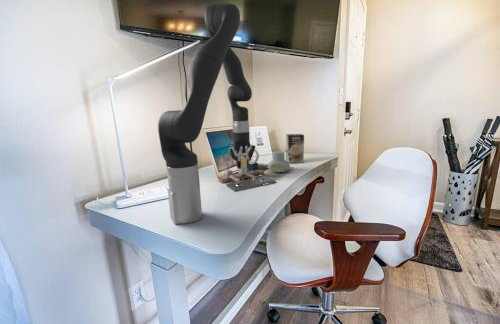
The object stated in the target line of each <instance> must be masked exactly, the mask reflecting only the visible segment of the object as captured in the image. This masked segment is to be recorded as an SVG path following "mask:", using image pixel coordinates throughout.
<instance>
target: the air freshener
mask: <svg viewBox="0 0 500 324" xmlns="http://www.w3.org/2000/svg"><path fill="white" fill-rule="evenodd" d="M290 167H291V166H290V164H289V163H288V162H287V161H286V153H285V152H284V151H281V150H280V151H279V150H277V151H273V152H272V160H270V161H269V162H268V164H267V168H268V169H269V170H270V171H271V172H273V173H275V172H282V173H284V172H287V171H288V170H289V168H290Z"/></svg>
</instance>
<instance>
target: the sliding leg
mask: <svg viewBox="0 0 500 324" xmlns="http://www.w3.org/2000/svg"><path fill="white" fill-rule="evenodd" d="M240 161H241V169H238V168H237V174H241V175H246V176H248V177H250V178H249V179H253V181H255V178H256V177H255V176H253V175H250V174H248V172H249V170H248V169H247V158H246V157H244V156H241V158H240Z"/></svg>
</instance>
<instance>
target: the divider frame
mask: <svg viewBox="0 0 500 324" xmlns="http://www.w3.org/2000/svg"><path fill="white" fill-rule="evenodd" d="M233 173H234V172H233V170H231V169H230V168H227V169H223V176H219V177H218V182H219V183H221V184H229V183H234V182H238V184H240V181H241V180H240V179H239V178H246V177H248V176H246V175H241V174H239V173H235V174H233ZM248 174H250V175H253V176H259V175H264V176H265V171H264V170H261V169H256V170H254V171H248ZM259 177H260V176H259Z"/></svg>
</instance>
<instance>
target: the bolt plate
mask: <svg viewBox="0 0 500 324" xmlns="http://www.w3.org/2000/svg"><path fill="white" fill-rule="evenodd" d="M265 183H272V184H276V180H275V179H273V178H270V177H268V176H265V175H264V176H259V177H255V181H253V179H252V178H249V179H244V180H240V184H238V182H237V181H233V182H228V183H225V185H226V187H227V188H228V189H230V190H231V191H233V192H239V191H243V190H244V191H245V190H247V189H252V188H257V187H261V186H262V185H263V184H265ZM263 186H264V185H263ZM263 186H262V187H263Z"/></svg>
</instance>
